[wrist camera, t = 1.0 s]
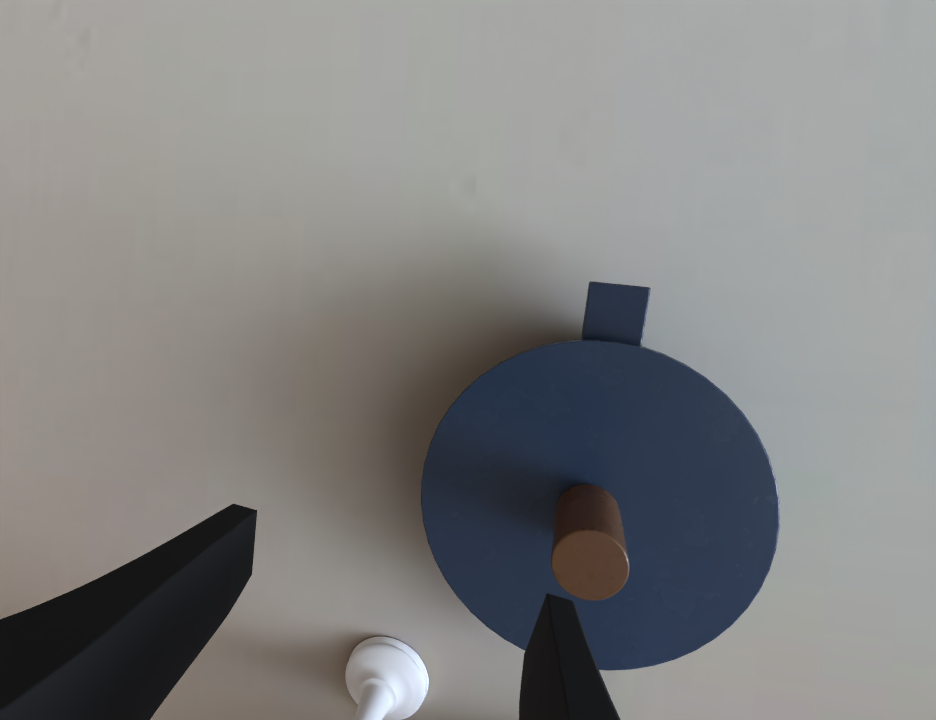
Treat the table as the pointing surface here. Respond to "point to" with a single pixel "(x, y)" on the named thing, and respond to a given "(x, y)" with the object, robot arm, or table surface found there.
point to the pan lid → (601, 500)
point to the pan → (615, 312)
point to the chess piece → (386, 679)
